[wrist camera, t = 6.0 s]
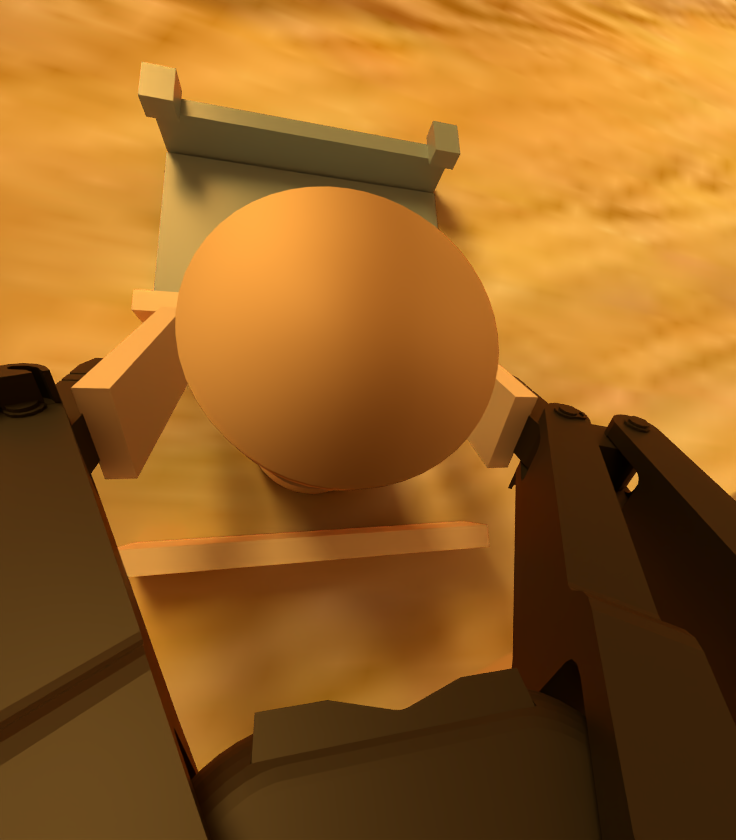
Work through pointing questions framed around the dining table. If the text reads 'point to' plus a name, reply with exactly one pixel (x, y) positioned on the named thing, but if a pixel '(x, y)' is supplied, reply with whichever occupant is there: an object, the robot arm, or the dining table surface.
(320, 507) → the dining table surface
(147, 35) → the dining table surface
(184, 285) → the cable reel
